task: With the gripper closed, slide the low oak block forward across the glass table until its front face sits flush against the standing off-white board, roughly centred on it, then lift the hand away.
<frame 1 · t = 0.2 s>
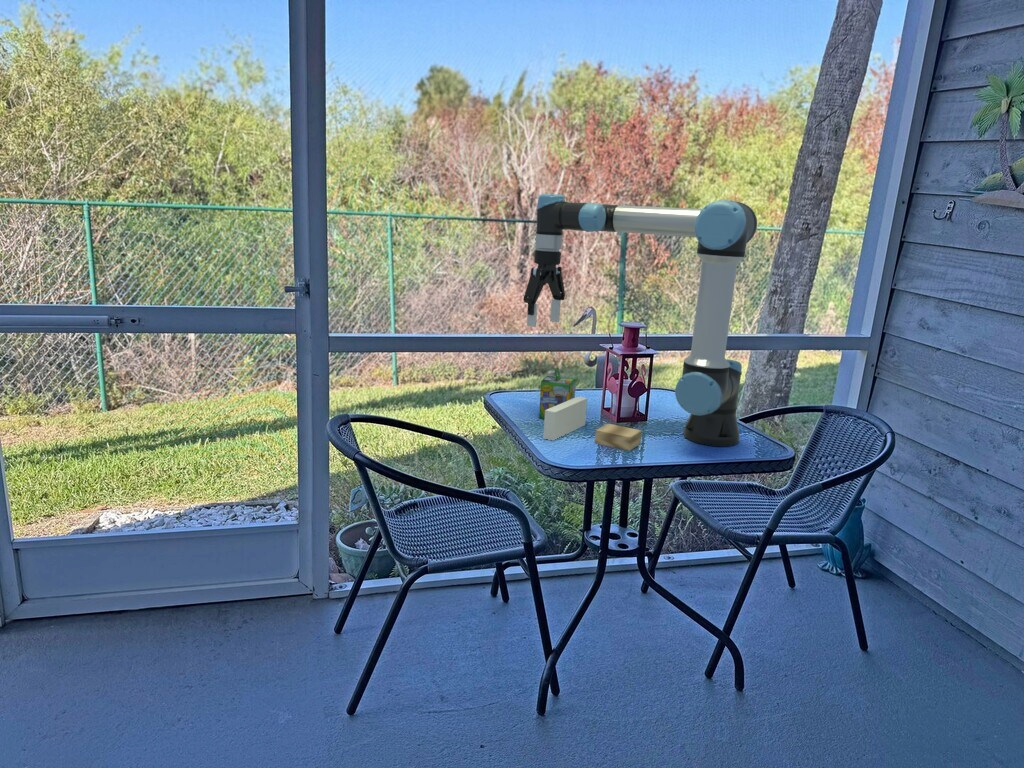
hand: (543, 324, 214), 28 cm above the table, tool pointing down, fingers open, 13 cm apart
oak block: (617, 444, 199), on the table
chalk box: (556, 417, 221), on the table
white board: (564, 431, 206), on the table
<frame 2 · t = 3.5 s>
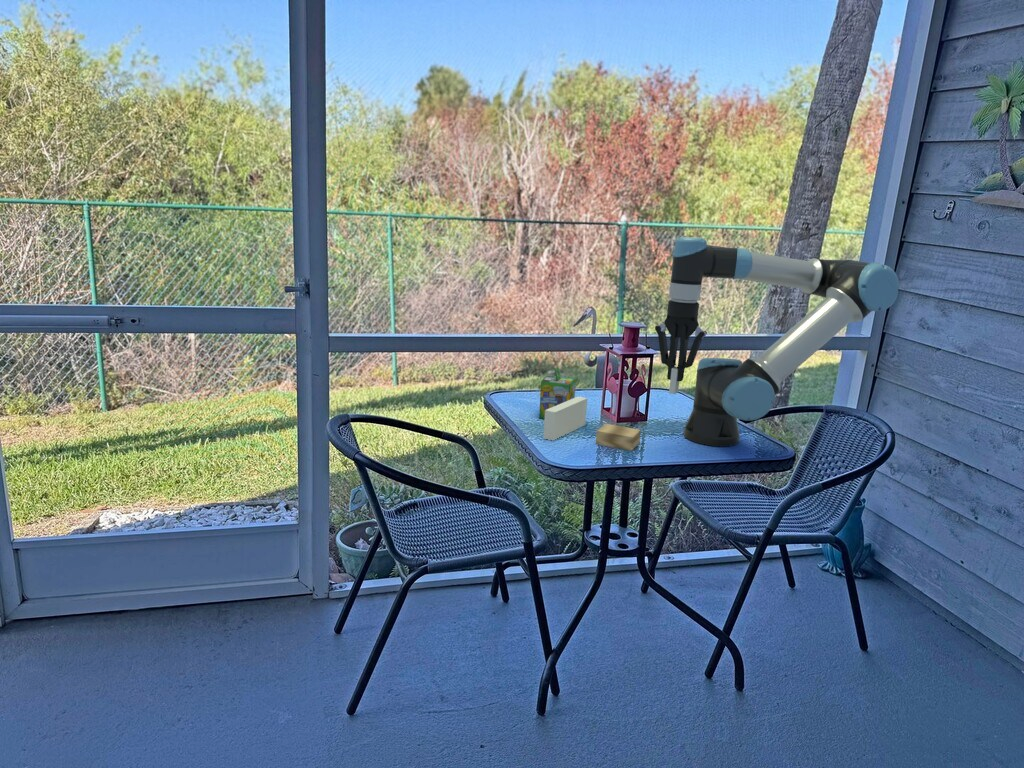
hand: (673, 392, 188), 17 cm above the table, tool pointing down, fingers closed
nothing on the table moved.
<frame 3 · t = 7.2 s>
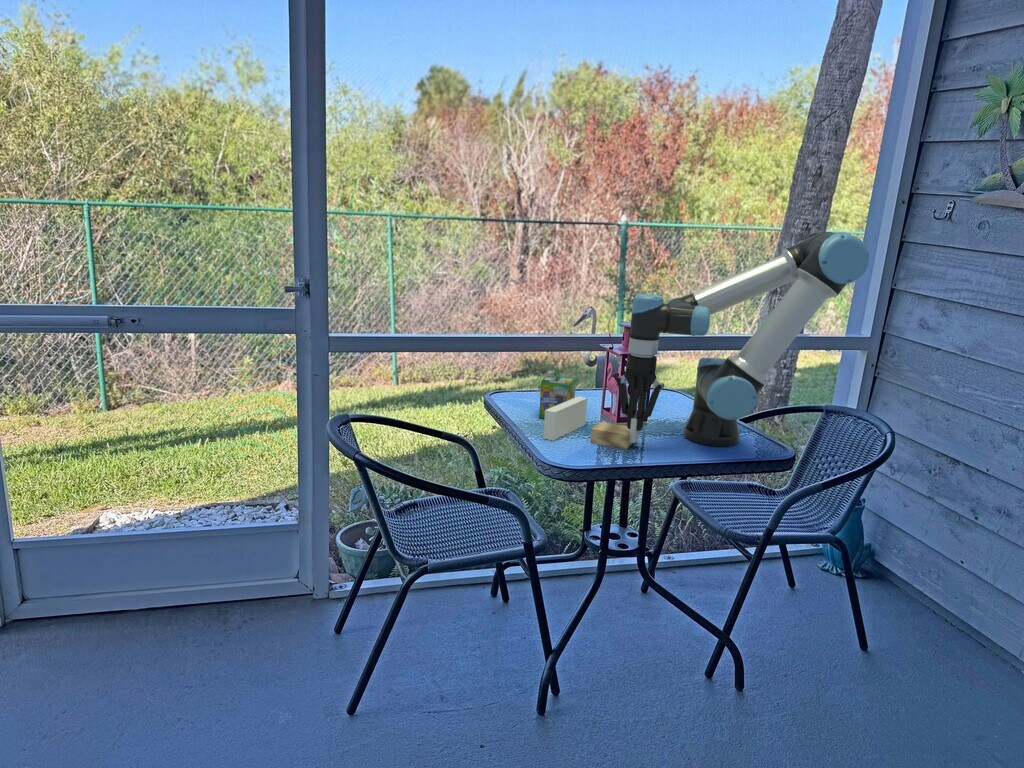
hand: (633, 441, 196), 2 cm above the table, tool pointing down, fingers closed
oak block: (612, 442, 199), on the table, touching gripper
everything else where it was.
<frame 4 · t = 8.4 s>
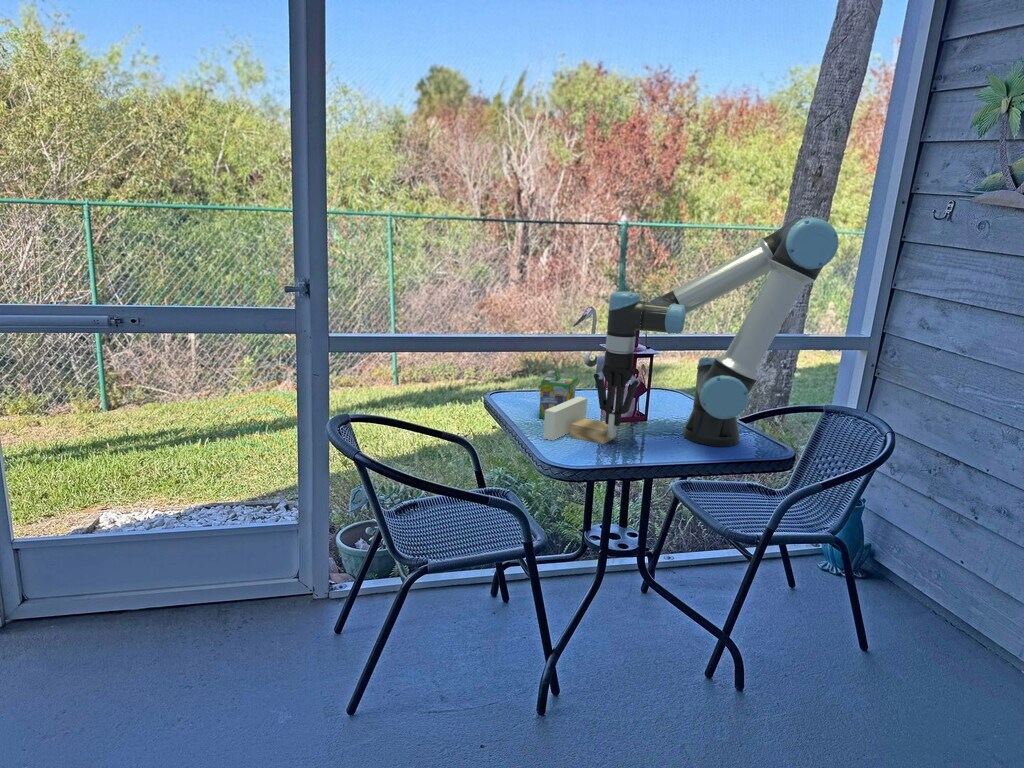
hand: (611, 436, 199), 2 cm above the table, tool pointing down, fingers closed
oak block: (592, 438, 203), on the table
everything else where it was.
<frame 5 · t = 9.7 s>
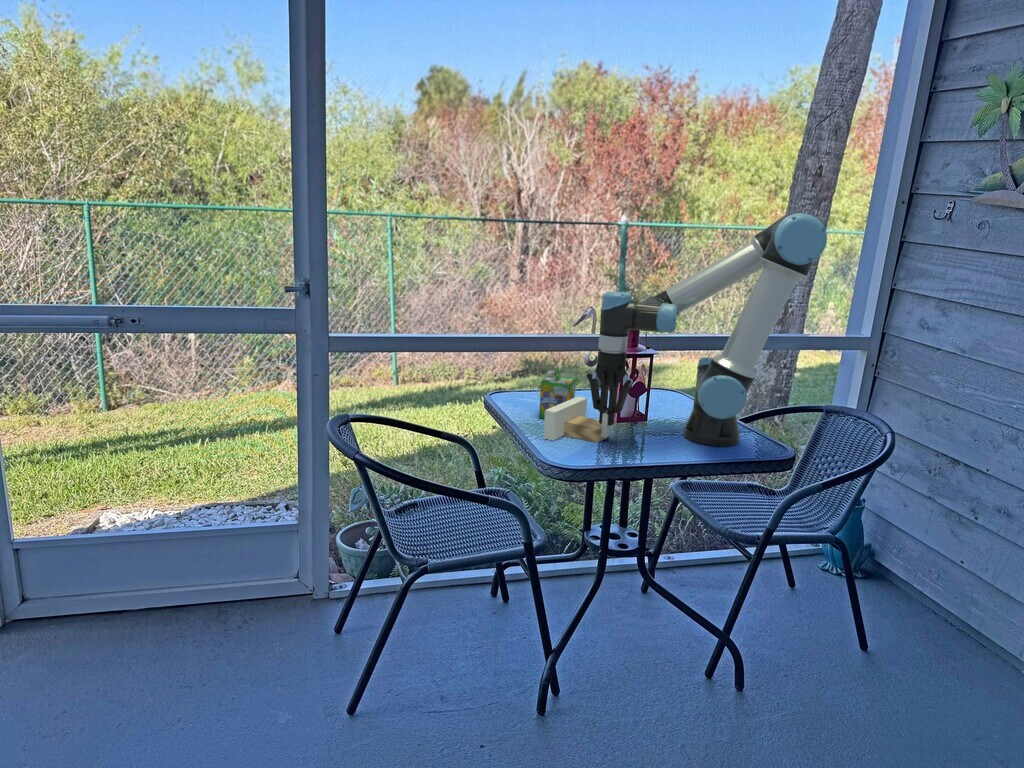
hand: (605, 435, 200), 1 cm above the table, tool pointing down, fingers closed
oak block: (586, 435, 204), on the table, touching gripper, white board
everything else where it was.
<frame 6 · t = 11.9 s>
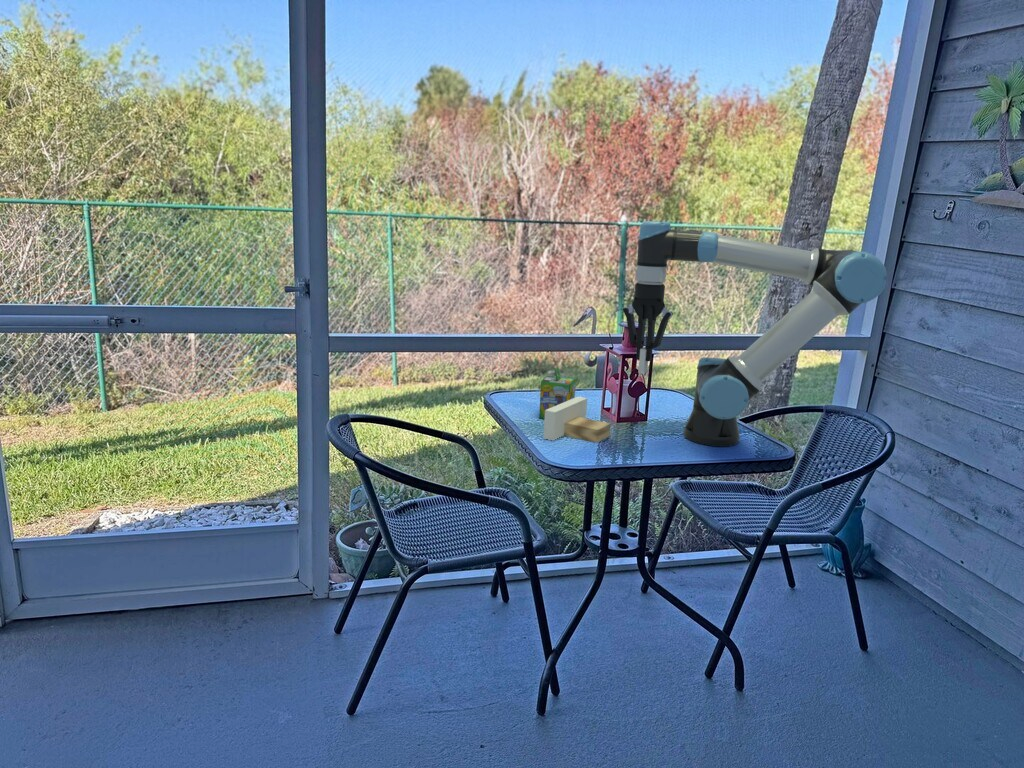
hand: (642, 372, 194), 20 cm above the table, tool pointing down, fingers closed
oak block: (586, 437, 204), on the table
everything else where it was.
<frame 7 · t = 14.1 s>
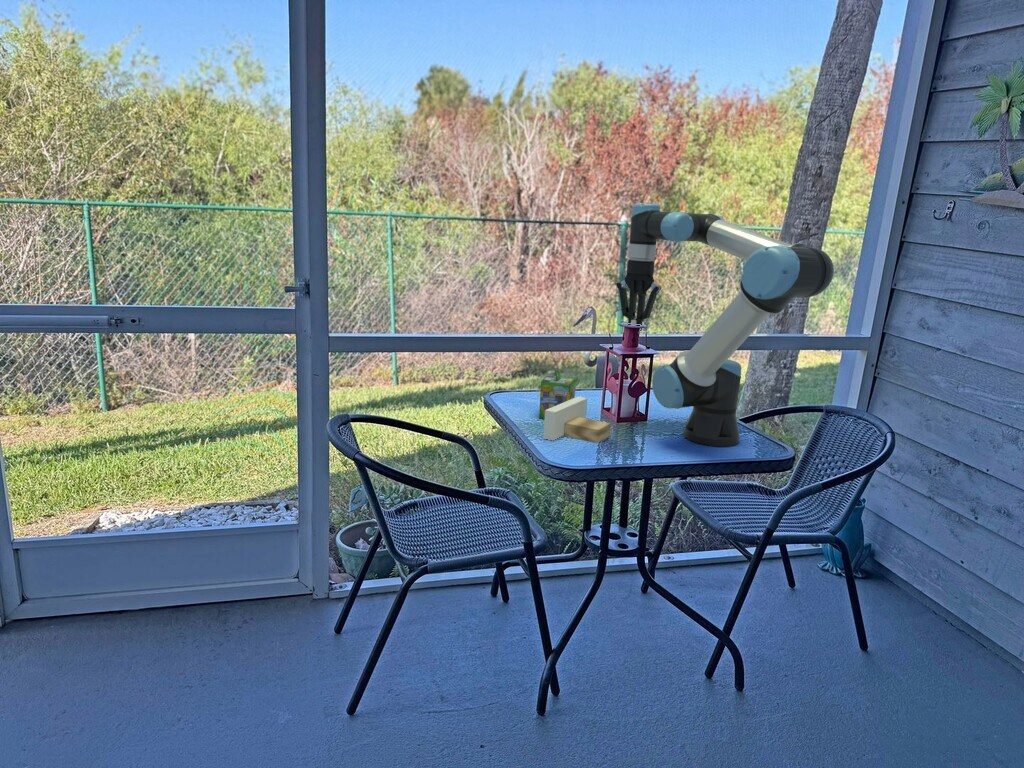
hand: (633, 342, 213), 24 cm above the table, tool pointing down, fingers closed
nothing on the table moved.
at the end: oak block 0.5 cm from the target spot on the table beside the white board, on the table; oak block tilted 0° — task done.
